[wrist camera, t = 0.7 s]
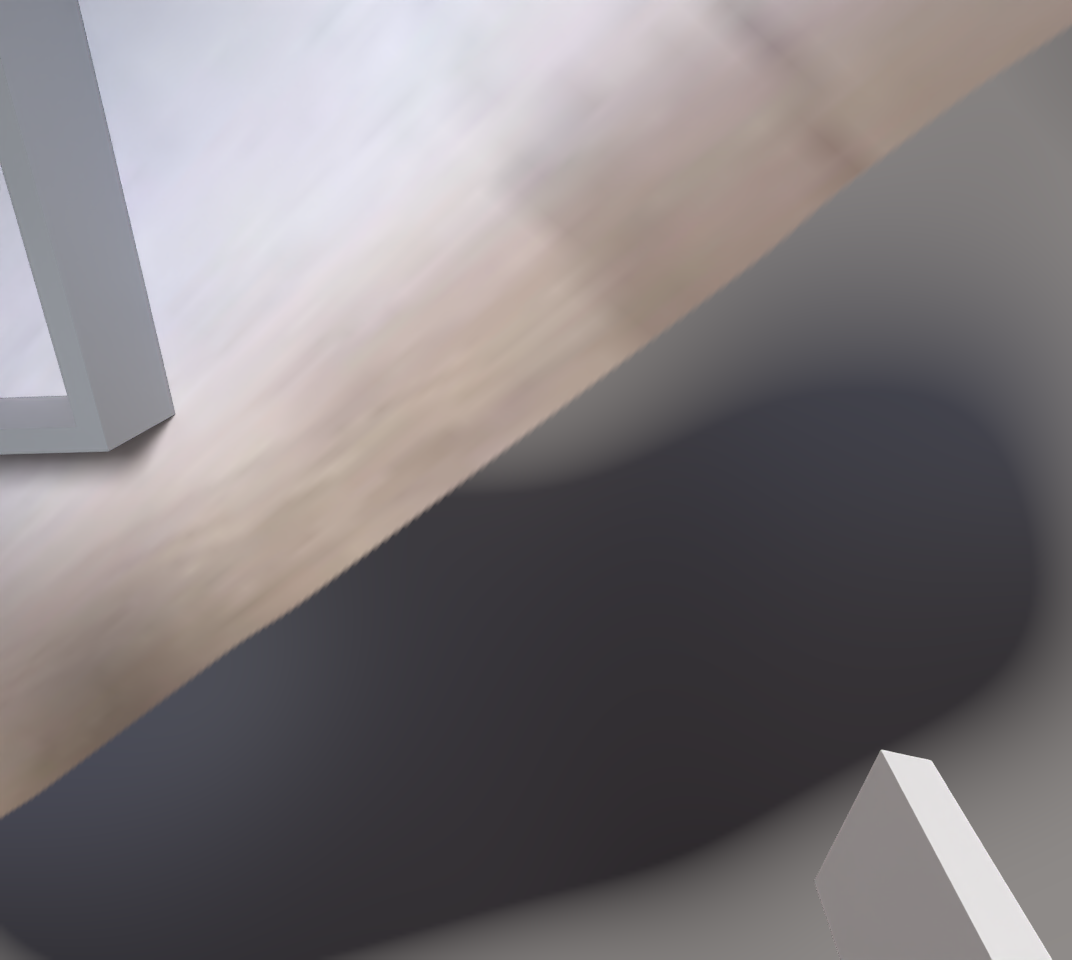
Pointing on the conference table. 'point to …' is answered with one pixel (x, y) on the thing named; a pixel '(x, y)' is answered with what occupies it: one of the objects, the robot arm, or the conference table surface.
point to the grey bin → (73, 241)
